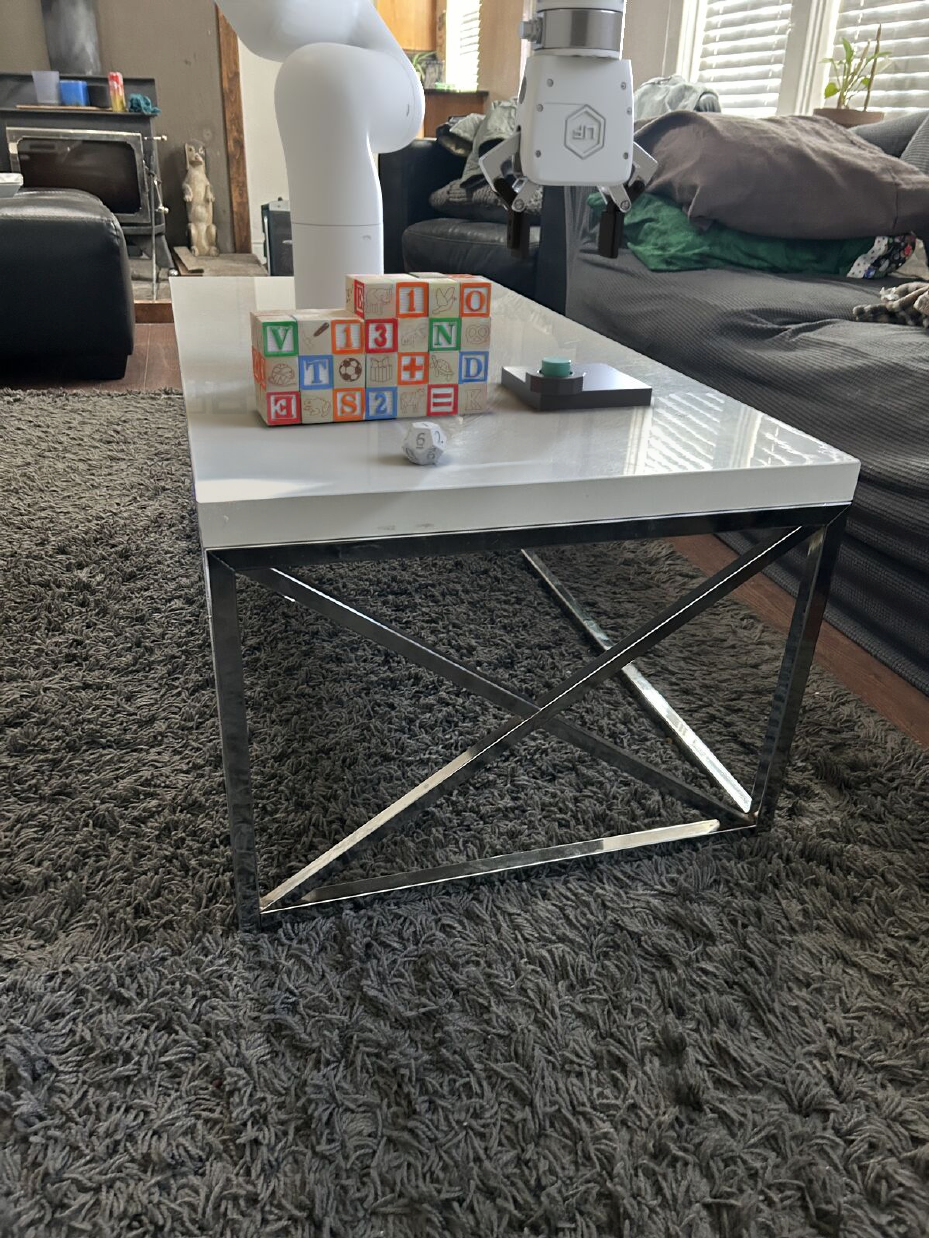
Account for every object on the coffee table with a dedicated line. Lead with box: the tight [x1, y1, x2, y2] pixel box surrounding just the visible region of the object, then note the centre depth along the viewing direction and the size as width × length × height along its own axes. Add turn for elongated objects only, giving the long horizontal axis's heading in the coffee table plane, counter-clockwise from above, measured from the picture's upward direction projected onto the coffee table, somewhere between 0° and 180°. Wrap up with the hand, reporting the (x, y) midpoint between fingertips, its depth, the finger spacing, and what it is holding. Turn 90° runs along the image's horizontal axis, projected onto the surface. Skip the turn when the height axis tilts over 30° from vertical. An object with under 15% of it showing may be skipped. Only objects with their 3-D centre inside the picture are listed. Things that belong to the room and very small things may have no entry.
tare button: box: [541, 356, 571, 376], centre depth 94 cm, size 3×3×2 cm
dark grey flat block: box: [500, 362, 653, 412], centre depth 99 cm, size 13×13×4 cm
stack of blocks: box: [249, 272, 492, 426], centre depth 89 cm, size 21×6×12 cm, turn 110°
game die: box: [401, 420, 448, 466], centre depth 78 cm, size 4×4×3 cm
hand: (563, 257), depth 89 cm, fingers open, 8 cm apart
